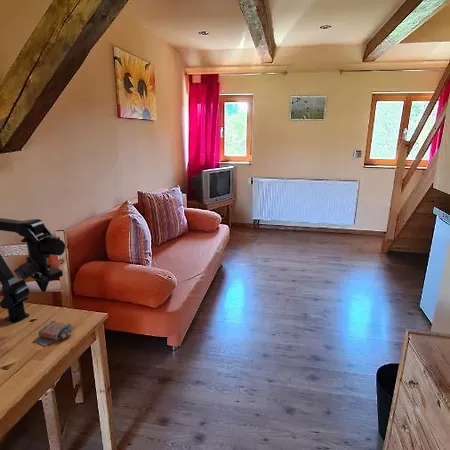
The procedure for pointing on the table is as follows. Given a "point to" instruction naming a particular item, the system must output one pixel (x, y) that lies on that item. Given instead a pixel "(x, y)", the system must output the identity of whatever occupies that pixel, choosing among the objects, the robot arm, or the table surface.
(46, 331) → the lighter
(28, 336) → the table surface
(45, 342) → the pad
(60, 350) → the table surface
